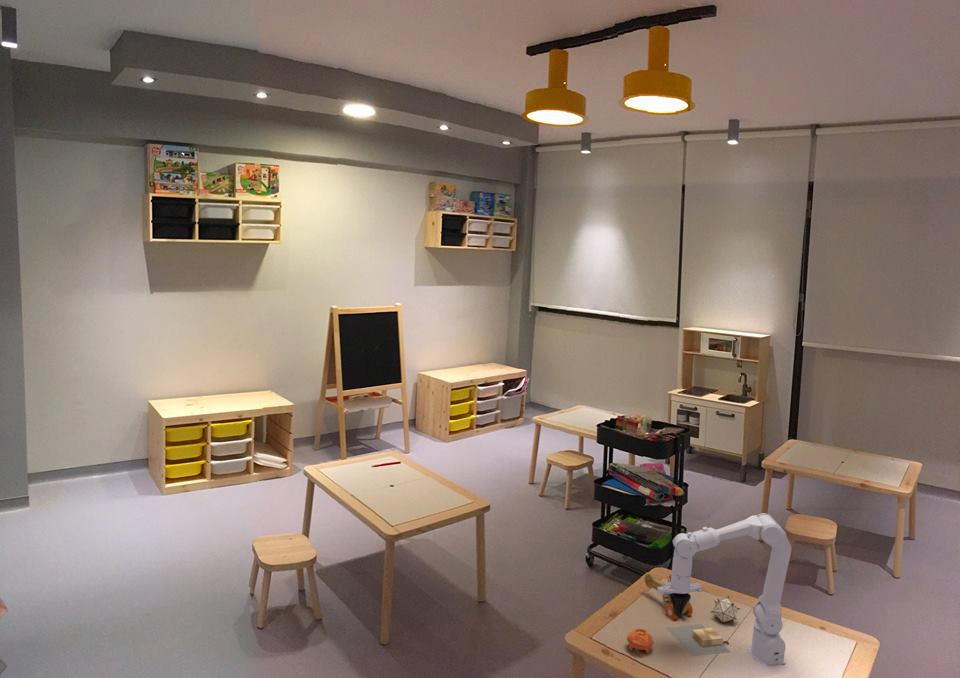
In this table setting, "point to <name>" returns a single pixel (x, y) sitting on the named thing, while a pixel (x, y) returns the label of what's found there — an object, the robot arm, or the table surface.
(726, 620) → the game die
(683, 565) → the robot arm
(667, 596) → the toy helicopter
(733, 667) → the table surface
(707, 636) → the oak tile
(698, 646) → the rubber mat
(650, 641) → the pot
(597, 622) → the table surface
